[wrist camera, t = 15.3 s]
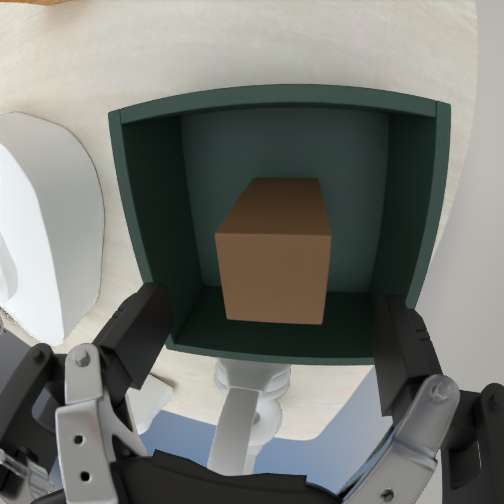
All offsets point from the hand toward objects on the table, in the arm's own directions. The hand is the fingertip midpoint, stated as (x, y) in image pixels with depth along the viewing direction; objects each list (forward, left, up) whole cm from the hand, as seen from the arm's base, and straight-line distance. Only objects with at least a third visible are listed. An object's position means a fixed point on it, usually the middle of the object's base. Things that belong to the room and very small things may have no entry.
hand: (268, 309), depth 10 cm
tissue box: (+30, 0, -11) cm, 32 cm away
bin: (0, 0, -11) cm, 11 cm away
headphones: (+3, +20, -11) cm, 23 cm away
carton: (0, 0, -10) cm, 10 cm away
